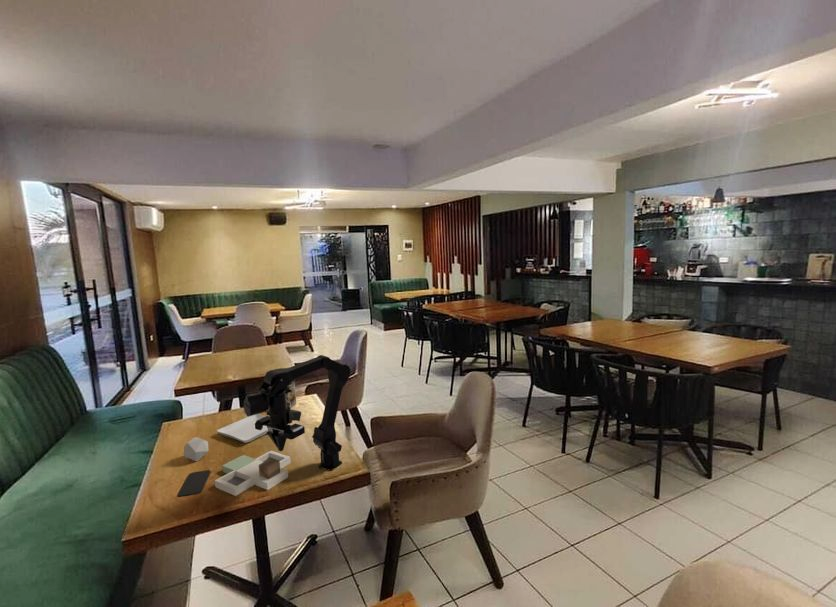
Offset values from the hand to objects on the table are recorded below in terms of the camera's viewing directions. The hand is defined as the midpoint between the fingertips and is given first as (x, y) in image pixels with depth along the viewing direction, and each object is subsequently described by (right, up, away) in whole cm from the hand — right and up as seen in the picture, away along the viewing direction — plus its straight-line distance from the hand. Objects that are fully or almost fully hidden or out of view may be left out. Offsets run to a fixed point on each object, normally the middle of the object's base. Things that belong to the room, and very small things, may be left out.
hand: (281, 450), depth 140 cm
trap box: (-12, -12, +9) cm, 20 cm away
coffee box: (-22, -4, +75) cm, 78 cm away
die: (-42, -12, +23) cm, 49 cm away
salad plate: (-29, -9, +46) cm, 55 cm away
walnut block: (-6, -10, +5) cm, 13 cm away
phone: (-33, -14, +5) cm, 36 cm away
